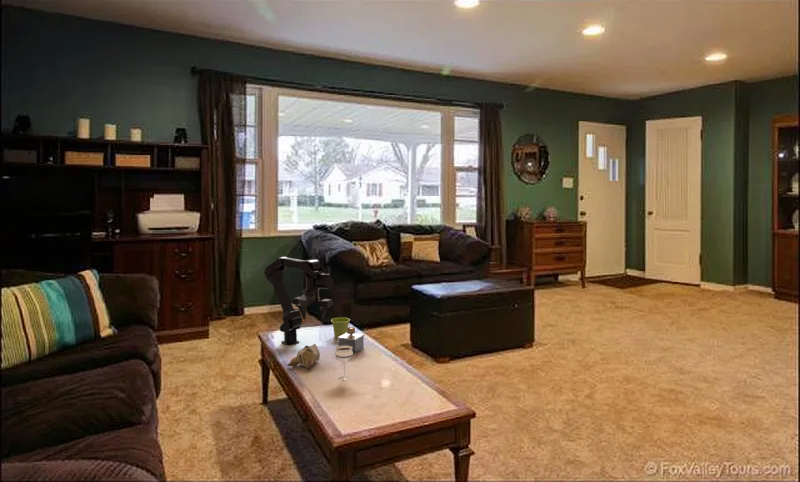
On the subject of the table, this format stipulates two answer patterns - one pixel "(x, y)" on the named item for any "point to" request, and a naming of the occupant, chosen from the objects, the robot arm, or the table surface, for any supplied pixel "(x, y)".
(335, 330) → the plant pot
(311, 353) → the ceramic sculpture
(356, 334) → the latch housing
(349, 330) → the bronze domed cylinder
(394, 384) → the table surface
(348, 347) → the wineglass
